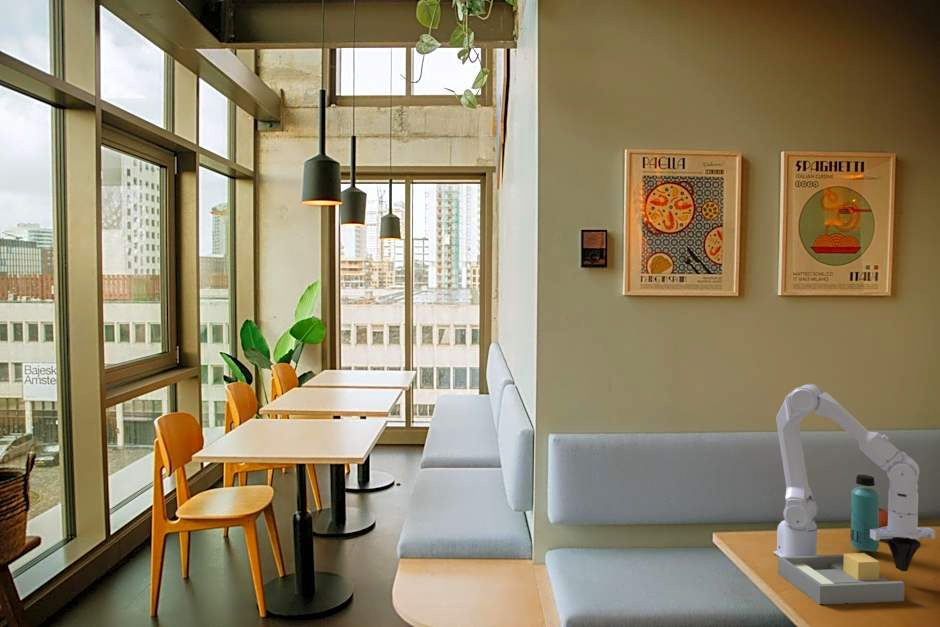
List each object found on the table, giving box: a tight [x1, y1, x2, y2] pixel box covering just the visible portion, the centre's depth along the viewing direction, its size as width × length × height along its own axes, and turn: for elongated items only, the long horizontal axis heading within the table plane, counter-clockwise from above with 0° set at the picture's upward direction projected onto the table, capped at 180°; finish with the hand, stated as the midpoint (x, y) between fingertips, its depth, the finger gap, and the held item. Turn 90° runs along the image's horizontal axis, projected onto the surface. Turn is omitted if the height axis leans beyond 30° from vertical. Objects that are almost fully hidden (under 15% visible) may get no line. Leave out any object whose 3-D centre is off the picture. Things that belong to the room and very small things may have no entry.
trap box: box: [777, 554, 905, 605], centre depth 149 cm, size 16×19×4 cm
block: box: [843, 552, 880, 580], centre depth 150 cm, size 5×5×4 cm
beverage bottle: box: [849, 474, 880, 552], centre depth 169 cm, size 6×7×20 cm
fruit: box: [879, 507, 888, 528], centre depth 180 cm, size 9×9×8 cm
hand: (901, 569), depth 151 cm, fingers closed
